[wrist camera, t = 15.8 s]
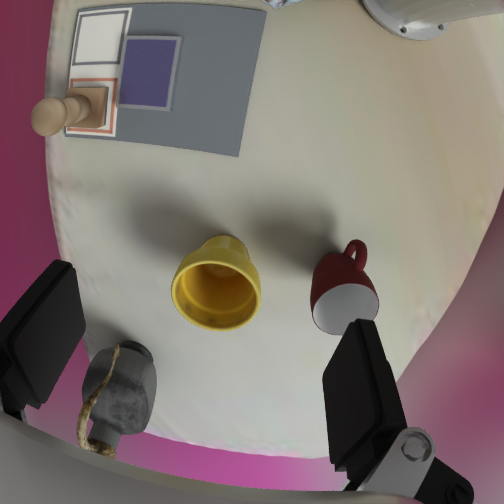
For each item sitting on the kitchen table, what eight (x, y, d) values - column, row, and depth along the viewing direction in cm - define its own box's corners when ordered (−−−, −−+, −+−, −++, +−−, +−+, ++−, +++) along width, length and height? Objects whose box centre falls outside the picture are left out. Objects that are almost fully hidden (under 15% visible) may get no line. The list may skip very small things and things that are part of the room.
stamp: (76, 86, 32) (21, 97, 22) (109, 86, 32) (56, 95, 23) (74, 123, 35) (21, 143, 25) (105, 125, 35) (55, 145, 25)
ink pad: (129, 36, 29) (124, 35, 28) (184, 38, 30) (181, 36, 28) (120, 106, 34) (114, 107, 32) (173, 110, 34) (169, 111, 33)
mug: (317, 217, 41) (329, 257, 32) (374, 228, 41) (398, 269, 32) (299, 283, 46) (304, 331, 37) (350, 291, 46) (364, 338, 38)
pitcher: (116, 371, 61) (70, 492, 35) (102, 305, 51) (25, 452, 25) (164, 383, 61) (128, 513, 35) (160, 319, 51) (101, 485, 25)
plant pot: (266, 224, 42) (264, 265, 33) (259, 288, 47) (256, 336, 38) (187, 218, 42) (166, 256, 33) (189, 282, 47) (173, 327, 39)
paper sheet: (80, 12, 27) (78, 12, 27) (132, 7, 27) (131, 7, 27) (66, 133, 35) (65, 133, 35) (115, 136, 36) (114, 136, 35)
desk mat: (81, 10, 27) (78, 9, 27) (266, 12, 28) (266, 11, 28) (67, 135, 36) (65, 136, 36) (238, 156, 37) (237, 157, 37)
